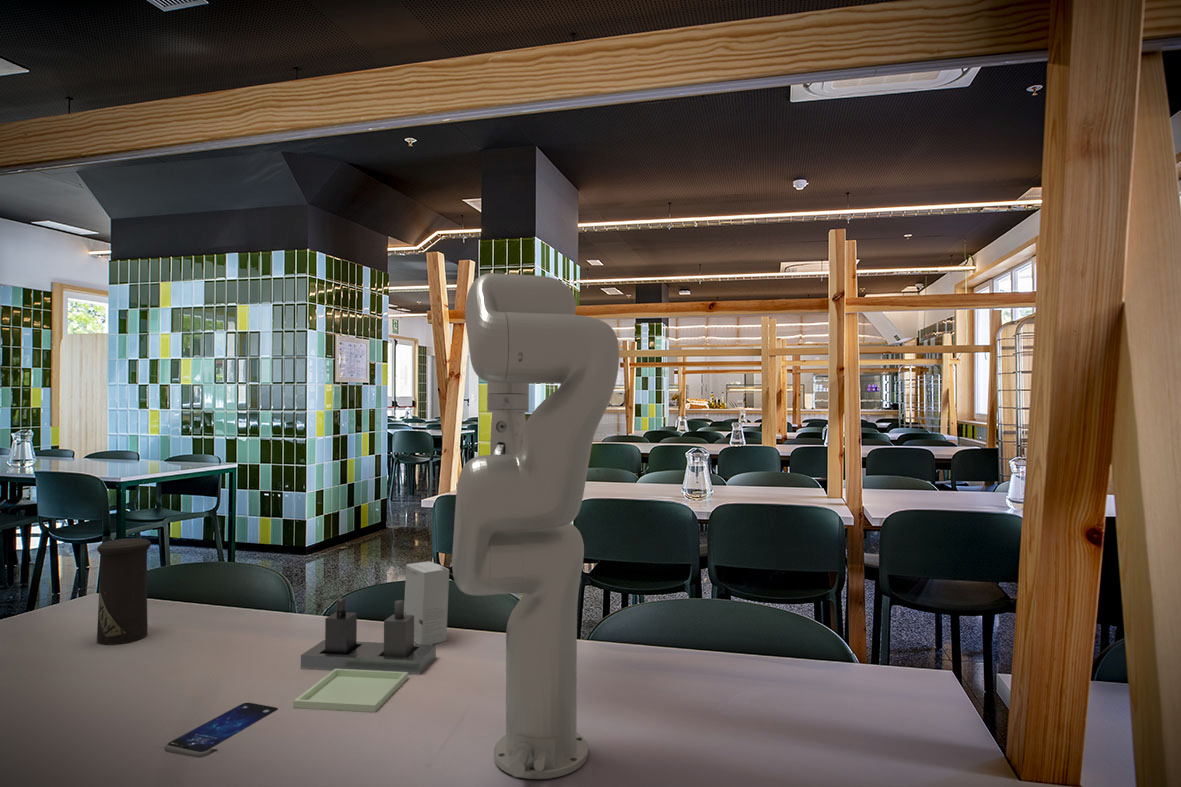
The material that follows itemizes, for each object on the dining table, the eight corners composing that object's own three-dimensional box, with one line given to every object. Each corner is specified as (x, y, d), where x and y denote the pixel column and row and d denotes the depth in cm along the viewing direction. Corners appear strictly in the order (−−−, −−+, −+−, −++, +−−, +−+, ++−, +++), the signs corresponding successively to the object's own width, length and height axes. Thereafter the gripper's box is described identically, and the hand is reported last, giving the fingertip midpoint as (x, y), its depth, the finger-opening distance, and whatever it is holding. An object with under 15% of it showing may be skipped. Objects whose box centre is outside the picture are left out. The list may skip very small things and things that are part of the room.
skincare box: (402, 637, 140) (402, 564, 140) (428, 631, 144) (429, 559, 144) (422, 648, 134) (423, 571, 134) (449, 641, 138) (450, 566, 138)
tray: (375, 715, 104) (375, 705, 104) (293, 710, 106) (293, 700, 106) (408, 681, 117) (408, 672, 117) (334, 677, 119) (335, 668, 119)
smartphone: (283, 707, 106) (203, 754, 92) (283, 714, 106) (202, 761, 92) (245, 700, 108) (160, 745, 94) (245, 706, 108) (160, 752, 94)
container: (101, 634, 141) (102, 537, 141) (152, 629, 145) (153, 533, 145) (90, 648, 133) (92, 544, 134) (145, 641, 137) (147, 541, 137)
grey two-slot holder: (420, 677, 119) (420, 608, 119) (300, 671, 122) (301, 604, 122) (435, 660, 127) (436, 596, 127) (323, 655, 130) (323, 592, 130)
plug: (405, 667, 121) (405, 604, 122) (383, 666, 122) (384, 604, 122) (413, 659, 125) (414, 598, 126) (392, 658, 126) (393, 597, 126)
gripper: (517, 404, 115) (517, 506, 115) (537, 404, 133) (537, 493, 132) (474, 404, 116) (473, 505, 116) (499, 404, 133) (499, 492, 133)
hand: (507, 499), depth 124 cm, fingers open, 9 cm apart
